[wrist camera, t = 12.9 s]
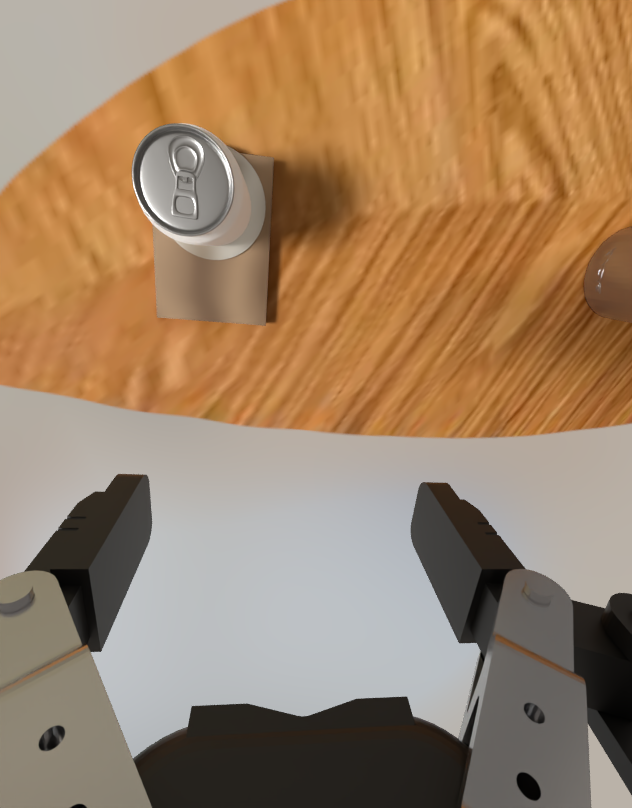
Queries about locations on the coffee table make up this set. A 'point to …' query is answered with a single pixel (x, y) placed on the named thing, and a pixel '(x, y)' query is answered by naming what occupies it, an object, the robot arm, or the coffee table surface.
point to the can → (191, 185)
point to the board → (221, 262)
